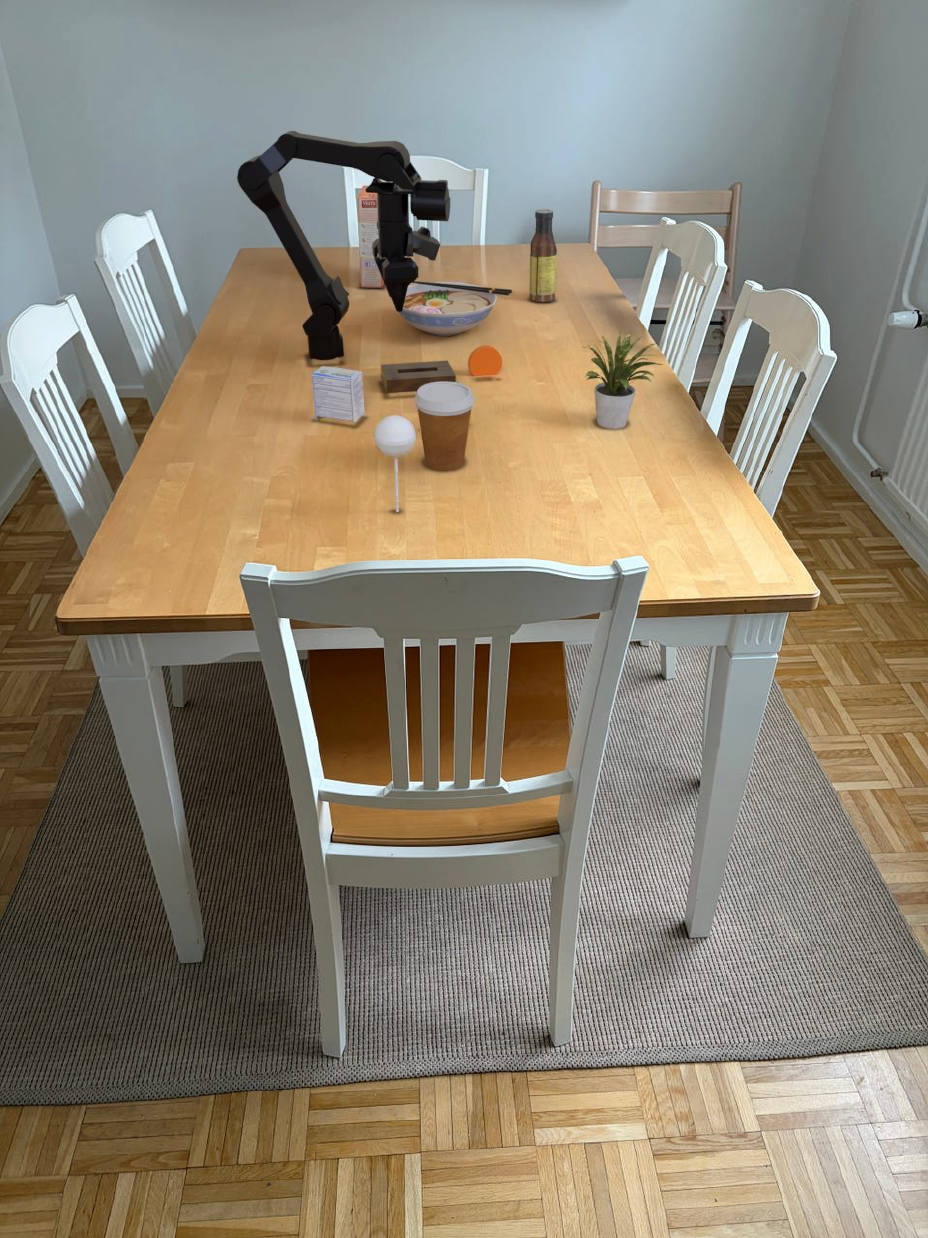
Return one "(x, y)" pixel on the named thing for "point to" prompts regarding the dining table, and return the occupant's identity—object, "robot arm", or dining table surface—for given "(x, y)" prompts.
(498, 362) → the token
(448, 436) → the disposable coffee cup
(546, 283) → the sauce bottle
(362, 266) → the cracker box
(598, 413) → the house plant
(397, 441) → the lollipop
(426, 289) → the ramen bowl
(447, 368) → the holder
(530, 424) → the dining table surface
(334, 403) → the medicine box
